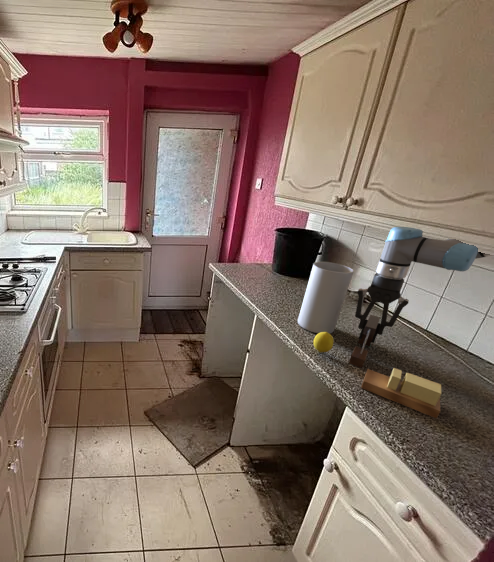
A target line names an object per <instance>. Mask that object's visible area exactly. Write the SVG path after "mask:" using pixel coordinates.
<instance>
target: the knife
mask: <svg viewBox="0 0 494 562" xmlns="http://www.w3.org/2000/svg"><path fill="white" fill-rule="evenodd" d="M380 319H381V317H380V316H377V315H374V314H369V316H368V319H367V320H368V321H367V324H366V326H365V329H364V332H363V334H364V335H367V336H366V339H365V341H364V344H363V345H362V347H361V348H362V350H361V353H360V354H362V352H363V349H365V347H366V346H365V344H366V342H367V339H368V336H371V337H373V336H374V333H375V331H376V328H377V325H378V323H380V321H381V320H380Z"/></svg>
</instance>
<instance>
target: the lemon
mask: <svg viewBox="0 0 494 562" xmlns="http://www.w3.org/2000/svg"><path fill="white" fill-rule="evenodd" d="M312 343H313V347H314V349H315V350H316V351H317V352H319V354H320V353H321V354H322V353H327V352H330V351H331V350H332V349H333V346H334V343H335V341H334V337H333V336H332V334H331V333H330V334H329V333H328V332H320V333H316V335H315V337H314V338H313V342H312Z"/></svg>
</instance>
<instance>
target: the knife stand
mask: <svg viewBox="0 0 494 562" xmlns="http://www.w3.org/2000/svg"><path fill="white" fill-rule="evenodd" d="M366 336H367V335H364V334H363V336H362V339H359V338H358V340H357V344H359V345H362V346H363V344H364V341H365V339H366ZM372 338H373V337H371V336H368V339H367V342H366V344H365V347H368V348H370V347H371V345H372V343H371V341H372ZM361 350H362V347H359V346H357V345H356V346H354V348H353V351H352V353H351V356H350V358H349V361H348V364H350V365H352V366H354V367H357V368H359V369H363V368H364V364H365V362H366V359H367V357H368V354H369V349H365V348H364V349H363V352H362V354H360V353H361Z"/></svg>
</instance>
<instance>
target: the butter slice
mask: <svg viewBox="0 0 494 562" xmlns="http://www.w3.org/2000/svg"><path fill="white" fill-rule="evenodd" d="M402 373H403V370H402V369H399V368H396V367H393V369H392V370H391V373H390V376H389V377H390V378H389V381H388V386H387V387H388V388H390V389H393V390H396V388H397V386H398V384H399V382H400V381H401V380H402V375H403V374H402Z"/></svg>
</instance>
